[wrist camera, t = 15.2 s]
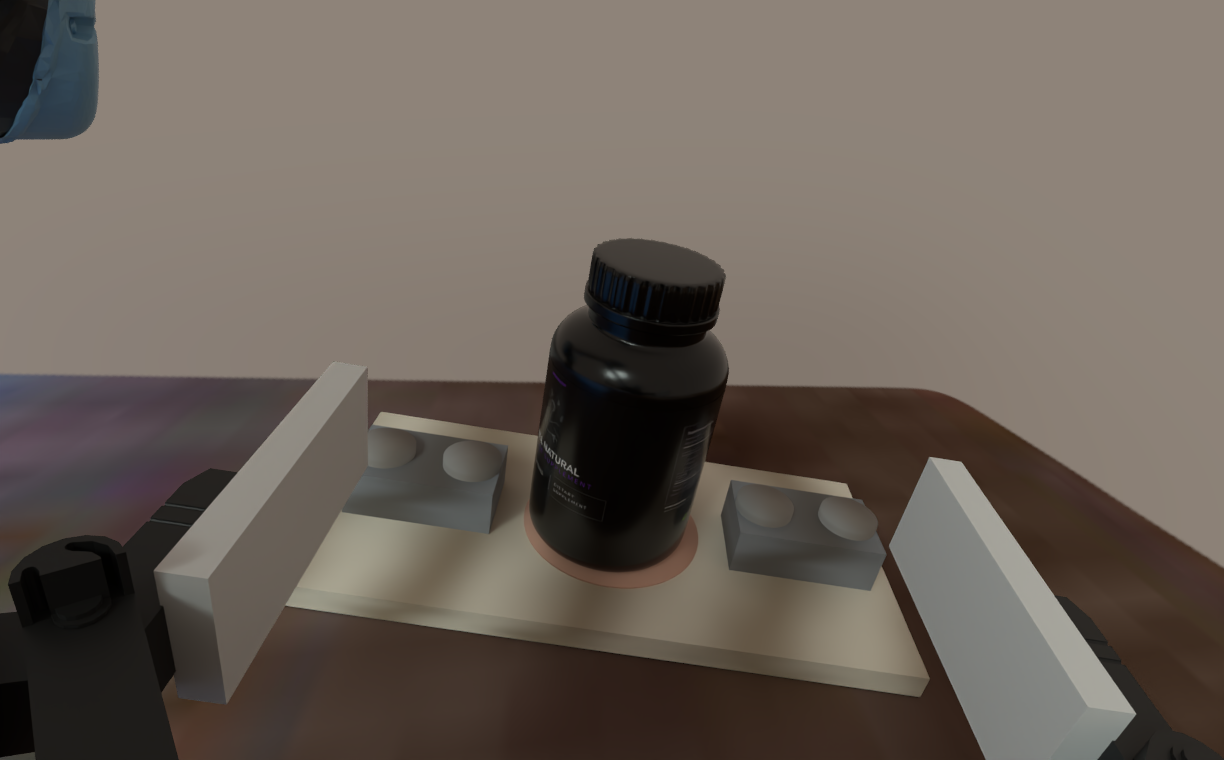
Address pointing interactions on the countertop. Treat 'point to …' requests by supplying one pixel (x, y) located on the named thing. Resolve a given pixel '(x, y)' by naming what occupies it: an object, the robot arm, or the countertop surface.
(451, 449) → the cream base tray
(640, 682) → the countertop surface
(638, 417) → the supplement bottle
